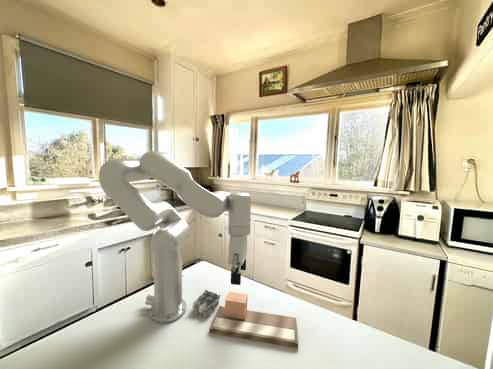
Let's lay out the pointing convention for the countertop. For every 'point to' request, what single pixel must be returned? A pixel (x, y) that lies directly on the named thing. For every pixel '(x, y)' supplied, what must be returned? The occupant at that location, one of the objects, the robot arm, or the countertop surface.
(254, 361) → the countertop surface
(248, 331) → the board
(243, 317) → the peach rectangular block
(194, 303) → the egg carton
